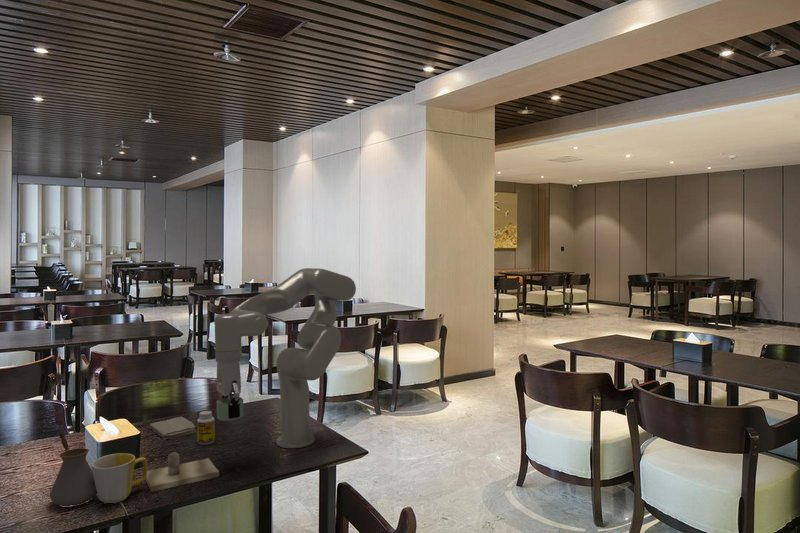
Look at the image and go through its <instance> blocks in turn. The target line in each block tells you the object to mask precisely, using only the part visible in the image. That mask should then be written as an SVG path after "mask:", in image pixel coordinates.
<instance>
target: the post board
mask: <svg viewBox="0 0 800 533" xmlns="http://www.w3.org/2000/svg"><path fill="white" fill-rule="evenodd" d="M218 477H220V471H219V469H218V468H217V467H216V466H215V465H214V463H213V462H212V461H211V460H210V458H209V457H208V458H203V459H198V460H195V461H190V462H184V463H180V454H179V453H178V452H176V451H173V452H171V453H169V454H168V455H167V466H166V467H161V468H157V469H156V468H155V469H151V470H147V476H146V479H145V480H144V481H145V483H146V484H147V486H148V489H149V491H150V493H153V492H157V491H158V492H159V491H162V490H168V489H171V488H175V487H179V486H184V485H188V484H194V483H196V482H197V483H198V482H201V481H206V480H210V479H214V478H218Z"/></svg>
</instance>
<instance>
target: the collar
mask: <svg viewBox="0 0 800 533" xmlns="http://www.w3.org/2000/svg"><path fill="white" fill-rule="evenodd" d="M232 398H233V397H231V399H232ZM239 401H240V417H237V418H232V419H229V416H228V405H229V399H228V397H227V398H221V397H220V398H219V399H217V400H216V418H217V420H219V421H225V422H227V421H228V422H231V421H234V420H240V419H241V418H243V417H244V416H245V414H244V413H245V412H244V411H245V410H244V408H245V407H244V399H243V397H241V396H239Z"/></svg>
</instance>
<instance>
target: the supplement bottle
mask: <svg viewBox="0 0 800 533" xmlns="http://www.w3.org/2000/svg"><path fill="white" fill-rule="evenodd" d="M198 417H199V418H197V420H196V424H197V425H196V427H197V428H196V429H197V430H196V435H197V444H199V445H202V446H203V445H205V446H206V445H211V444H213V443H215V441H216V430H215V429H216V428H215V427H216V425H215V424H216V423H215V417H213V412H212V411H211V410H202V411H201V412H199V416H198Z"/></svg>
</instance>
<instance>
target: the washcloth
mask: <svg viewBox="0 0 800 533" xmlns="http://www.w3.org/2000/svg"><path fill="white" fill-rule="evenodd" d="M196 427H197V425H195V424H194V423H193V421H191V420H188V419H187V418H185V417H183V416H177V417H173V418H170V419H166V420H161V421H157V422H156V421H155V422H152V423H150V424H149V426H148V428H149V430H151V429H152V430H153V431H152V430H151V431H152V432H154V433H155V434H156V433H157V434H156V435H158V436H159V437H160V436H161V437H162V439H163V441H166V440H172V439H177V438H180V437H186V436H190V435H194V434H197V430H196ZM161 437H160V438H161Z"/></svg>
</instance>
